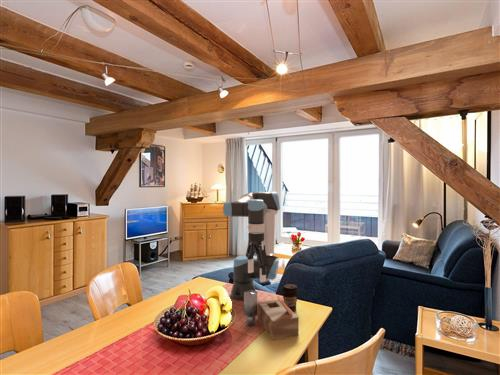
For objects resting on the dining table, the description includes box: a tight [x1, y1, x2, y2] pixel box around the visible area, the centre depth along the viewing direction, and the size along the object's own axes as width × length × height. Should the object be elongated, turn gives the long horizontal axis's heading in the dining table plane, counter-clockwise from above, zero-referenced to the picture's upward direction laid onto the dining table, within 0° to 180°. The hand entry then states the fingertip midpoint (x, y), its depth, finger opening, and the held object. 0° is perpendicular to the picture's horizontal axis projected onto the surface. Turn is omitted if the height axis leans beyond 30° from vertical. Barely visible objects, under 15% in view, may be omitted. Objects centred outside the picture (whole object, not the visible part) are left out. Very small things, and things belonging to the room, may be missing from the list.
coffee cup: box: [281, 283, 299, 313], centre depth 146 cm, size 9×8×13 cm
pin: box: [243, 290, 258, 327], centre depth 132 cm, size 6×6×15 cm
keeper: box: [276, 295, 293, 316], centre depth 125 cm, size 5×9×1 cm
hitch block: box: [257, 299, 300, 341], centre depth 130 cm, size 20×12×8 cm, turn 17°
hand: (256, 276), depth 132 cm, fingers open, 13 cm apart
